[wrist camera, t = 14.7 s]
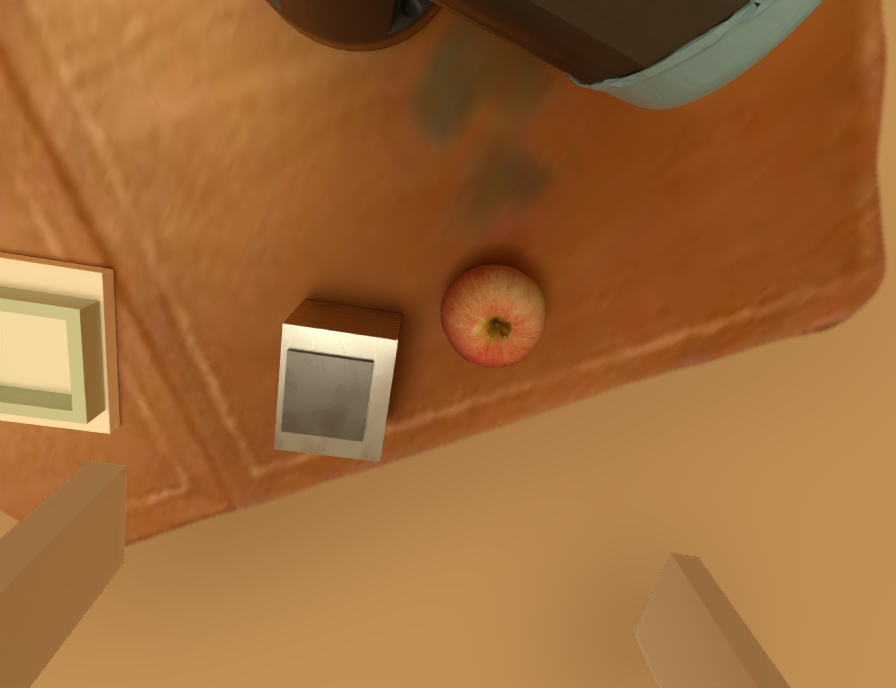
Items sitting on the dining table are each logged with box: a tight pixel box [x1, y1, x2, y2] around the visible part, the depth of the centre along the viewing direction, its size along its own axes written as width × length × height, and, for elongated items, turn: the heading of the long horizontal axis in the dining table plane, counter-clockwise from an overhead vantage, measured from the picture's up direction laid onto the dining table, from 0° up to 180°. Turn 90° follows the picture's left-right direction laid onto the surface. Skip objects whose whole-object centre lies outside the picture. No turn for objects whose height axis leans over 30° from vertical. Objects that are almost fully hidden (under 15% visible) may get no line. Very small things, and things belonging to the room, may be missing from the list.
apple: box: [441, 264, 546, 368], centre depth 39 cm, size 8×8×8 cm
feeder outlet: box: [274, 299, 402, 462], centre depth 40 cm, size 10×8×7 cm
